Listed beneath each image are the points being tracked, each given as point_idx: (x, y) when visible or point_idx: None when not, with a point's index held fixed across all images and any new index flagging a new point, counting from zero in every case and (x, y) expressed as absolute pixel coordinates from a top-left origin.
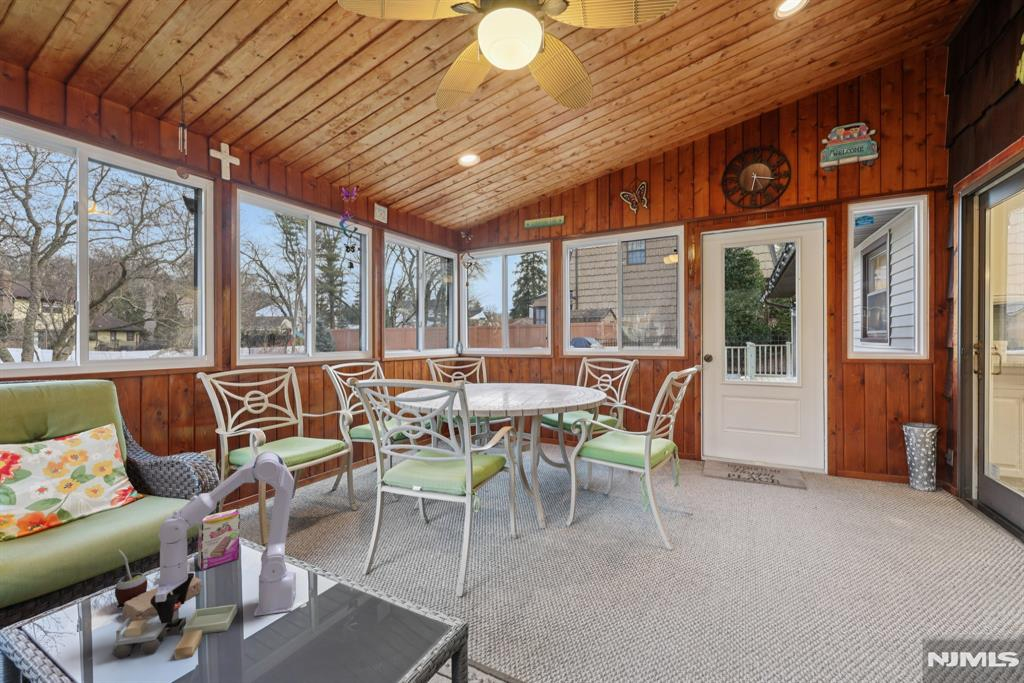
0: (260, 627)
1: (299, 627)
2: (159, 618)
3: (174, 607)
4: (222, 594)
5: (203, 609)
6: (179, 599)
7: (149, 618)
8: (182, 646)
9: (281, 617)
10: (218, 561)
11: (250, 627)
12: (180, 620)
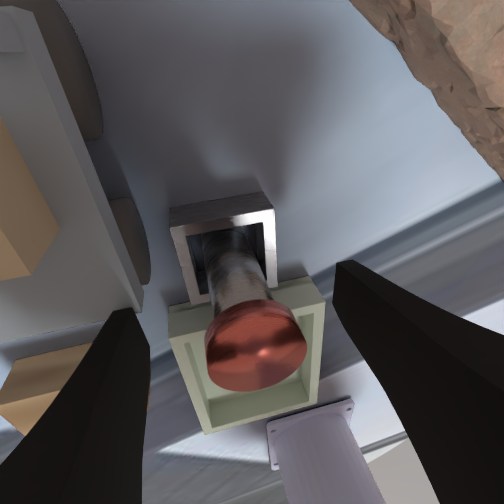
0: (211, 452)
1: (203, 498)
2: (92, 343)
3: (215, 381)
4: (446, 282)
5: (315, 329)
6: (354, 312)
7: (371, 17)
8: (20, 418)
9: (250, 461)
10: None
11: (213, 436)
12: (265, 264)
